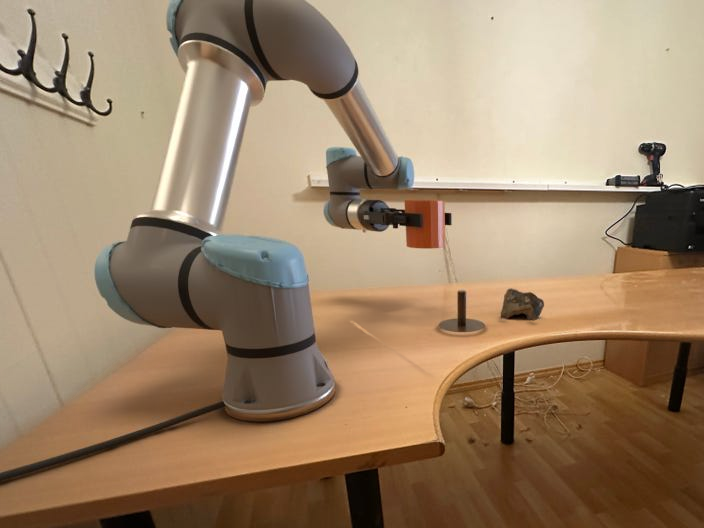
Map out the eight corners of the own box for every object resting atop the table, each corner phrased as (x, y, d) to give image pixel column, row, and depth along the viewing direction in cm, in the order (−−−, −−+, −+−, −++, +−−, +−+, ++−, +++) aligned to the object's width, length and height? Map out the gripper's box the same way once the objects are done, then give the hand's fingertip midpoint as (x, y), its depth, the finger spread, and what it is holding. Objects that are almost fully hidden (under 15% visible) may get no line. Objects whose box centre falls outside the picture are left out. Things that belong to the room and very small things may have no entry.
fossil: (541, 311, 108) (546, 282, 101) (541, 335, 103) (546, 306, 95) (501, 308, 109) (503, 279, 101) (499, 332, 103) (501, 303, 96)
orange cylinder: (417, 249, 88) (415, 200, 84) (400, 245, 95) (397, 199, 91) (451, 247, 93) (451, 200, 89) (433, 243, 99) (432, 200, 96)
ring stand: (454, 339, 88) (454, 298, 84) (429, 326, 96) (428, 289, 93) (494, 331, 94) (495, 293, 90) (467, 319, 102) (468, 284, 99)
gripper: (402, 228, 111) (466, 234, 99) (335, 233, 95) (401, 240, 83) (401, 199, 109) (466, 201, 96) (331, 199, 92) (399, 201, 80)
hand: (436, 219), depth 90 cm, fingers closed on orange cylinder, 9 cm apart
